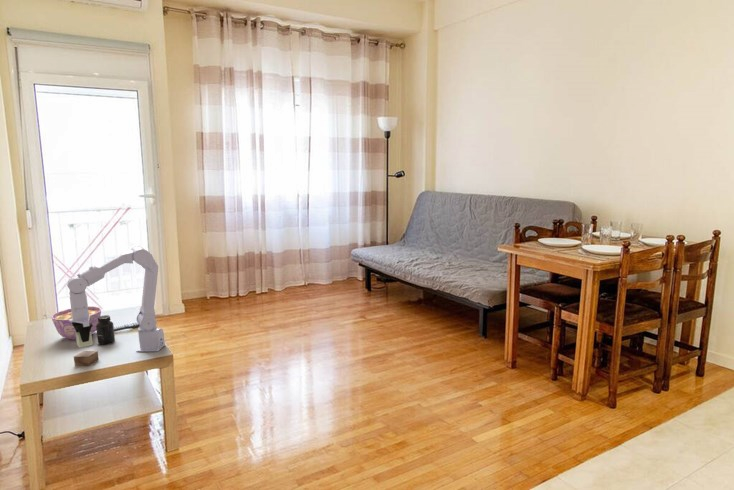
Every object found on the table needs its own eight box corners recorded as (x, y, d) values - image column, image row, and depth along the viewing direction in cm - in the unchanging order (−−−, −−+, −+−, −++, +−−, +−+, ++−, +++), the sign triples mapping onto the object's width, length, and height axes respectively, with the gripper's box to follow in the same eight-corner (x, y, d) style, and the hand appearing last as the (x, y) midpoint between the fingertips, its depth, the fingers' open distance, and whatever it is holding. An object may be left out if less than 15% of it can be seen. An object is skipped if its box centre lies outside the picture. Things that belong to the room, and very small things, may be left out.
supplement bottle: (96, 346, 212) (92, 320, 210) (100, 340, 219) (97, 315, 217) (113, 344, 214) (110, 318, 212) (116, 338, 220) (113, 313, 218)
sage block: (89, 341, 196) (87, 329, 196) (92, 344, 193) (91, 332, 192) (77, 344, 193) (75, 332, 192) (80, 347, 190) (78, 335, 189)
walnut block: (98, 360, 197) (97, 350, 197) (89, 366, 191) (87, 356, 191) (85, 359, 198) (83, 350, 197) (74, 366, 192) (73, 356, 191)
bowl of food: (65, 348, 211) (62, 322, 209) (47, 338, 223) (43, 314, 221) (112, 334, 226) (109, 310, 224) (92, 326, 238) (89, 303, 236)
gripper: (63, 305, 193) (67, 338, 195) (72, 313, 183) (77, 347, 185) (83, 301, 198) (87, 333, 200) (93, 309, 187) (97, 342, 190)
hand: (83, 339), depth 193 cm, fingers closed on sage block, 4 cm apart
